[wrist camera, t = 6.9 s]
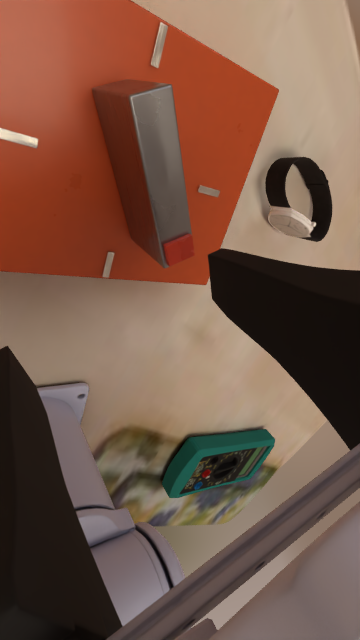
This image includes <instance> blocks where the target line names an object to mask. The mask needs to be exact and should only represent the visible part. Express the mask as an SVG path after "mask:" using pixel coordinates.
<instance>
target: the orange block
mask: <svg viewBox="0 0 360 640" xmlns="http://www.w3.org/2000/svg"><path fill="white" fill-rule="evenodd" d="M125 79H131V80H139V81H148V82H157V83H166V84H171V85H172V88H173V95H174V103H175V110H176V118H177V125H178V133H179V141H180V148H181V156H182V163H183V171H184V178H185V186H186V194H187V201H188V209H189V216H190V224H191V231H192V238H193V245H194V253H195V255H194V256H192V257H190V258H188V259H186V260H184V261H181V262H179V263H177V264H175V265H172V266H170V267H168V268H163V267H162V266H161V265H160V264H159V263H158V262H156V261H155V260H154V259H153V258H152V257H151V256H150V255H149V254H147V253H146V252H145V251H144V250H143V249H142V248H141V247H140V246H139V245H137V244H136V243H135V242H134V241H133V240H132V239H131V236H130V232H129V229H128V225H127V221H126V217H125V213H124V210H123V206H122V202H121V198H120V195H119V191H118V187H117V183H116V179H115V176H114V172H113V168H112V164H111V161H110V157H109V153H108V149H107V145H106V142H105V138H104V134H103V130H102V127H101V123H100V119H99V115H98V111H97V108H96V104H95V100H94V96H93V93H92V88H94V87H98V86H102V85H106V84H110V83H114V82H118V81H122V80H125ZM278 92H279V90H278V89H277V88H275V87H274V86H272V85H270V84H269V83H267V82H265V81H264V80H262V79H260V78H259V77H257V76H255V75H254V74H252V73H250V72H249V71H247V70H245V69H244V68H242V67H240V66H239V65H237V64H235V63H234V62H232V61H230V60H229V59H227V58H225V57H224V56H222V55H221V54H219V53H217V52H216V51H214V50H212V49H211V48H209V47H207V46H206V45H204V44H202V43H201V42H199V41H197V40H196V39H194V38H192V37H191V36H189V35H187V34H186V33H184V32H182V31H181V30H179V29H177V28H176V27H174V26H172V25H171V24H169V23H167V22H166V21H164V20H162V19H161V18H159V17H157V16H156V15H154V14H152V13H151V12H149V11H147V10H146V9H144V8H142V7H141V6H139V5H137V4H136V3H134V2H132V1H131V0H0V271H5V272H19V273H34V274H49V275H64V276H79V277H94V278H109V279H124V280H139V281H154V282H169V283H184V284H199V285H206V284H207V282H208V279H209V276H210V273H209V263H208V254H210V253H213V252H215V251H217V250H219V249H220V247H221V244H222V242H223V239H224V236H225V234H226V231H227V228H228V226H229V223H230V220H231V218H232V215H233V212H234V210H235V207H236V204H237V202H238V199H239V196H240V194H241V191H242V188H243V186H244V183H245V180H246V178H247V175H248V172H249V170H250V167H251V164H252V162H253V159H254V156H255V154H256V151H257V148H258V146H259V143H260V140H261V138H262V135H263V132H264V130H265V127H266V124H267V122H268V119H269V116H270V114H271V111H272V108H273V106H274V103H275V100H276V98H277V95H278Z"/></svg>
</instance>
